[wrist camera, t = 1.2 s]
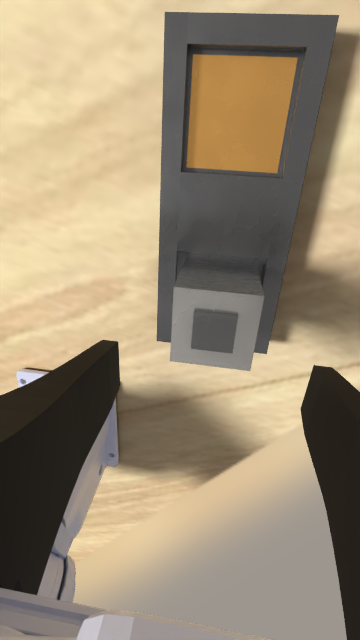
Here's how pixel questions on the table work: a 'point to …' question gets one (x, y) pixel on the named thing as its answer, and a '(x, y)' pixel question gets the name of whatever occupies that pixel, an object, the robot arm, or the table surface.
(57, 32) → the table surface
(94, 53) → the table surface
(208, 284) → the grey square block
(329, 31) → the dark gray slotted base
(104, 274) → the table surface
